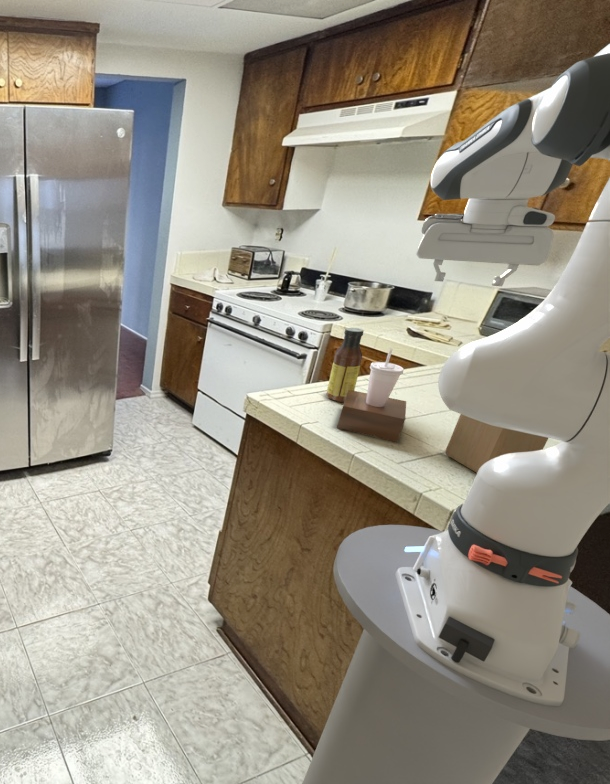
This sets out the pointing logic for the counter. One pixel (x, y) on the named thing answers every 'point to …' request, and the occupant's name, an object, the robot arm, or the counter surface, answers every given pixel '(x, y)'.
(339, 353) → the sauce bottle
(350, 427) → the walnut block
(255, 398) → the counter surface
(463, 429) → the wooden block
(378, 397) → the smoothie
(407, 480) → the counter surface
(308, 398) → the counter surface
